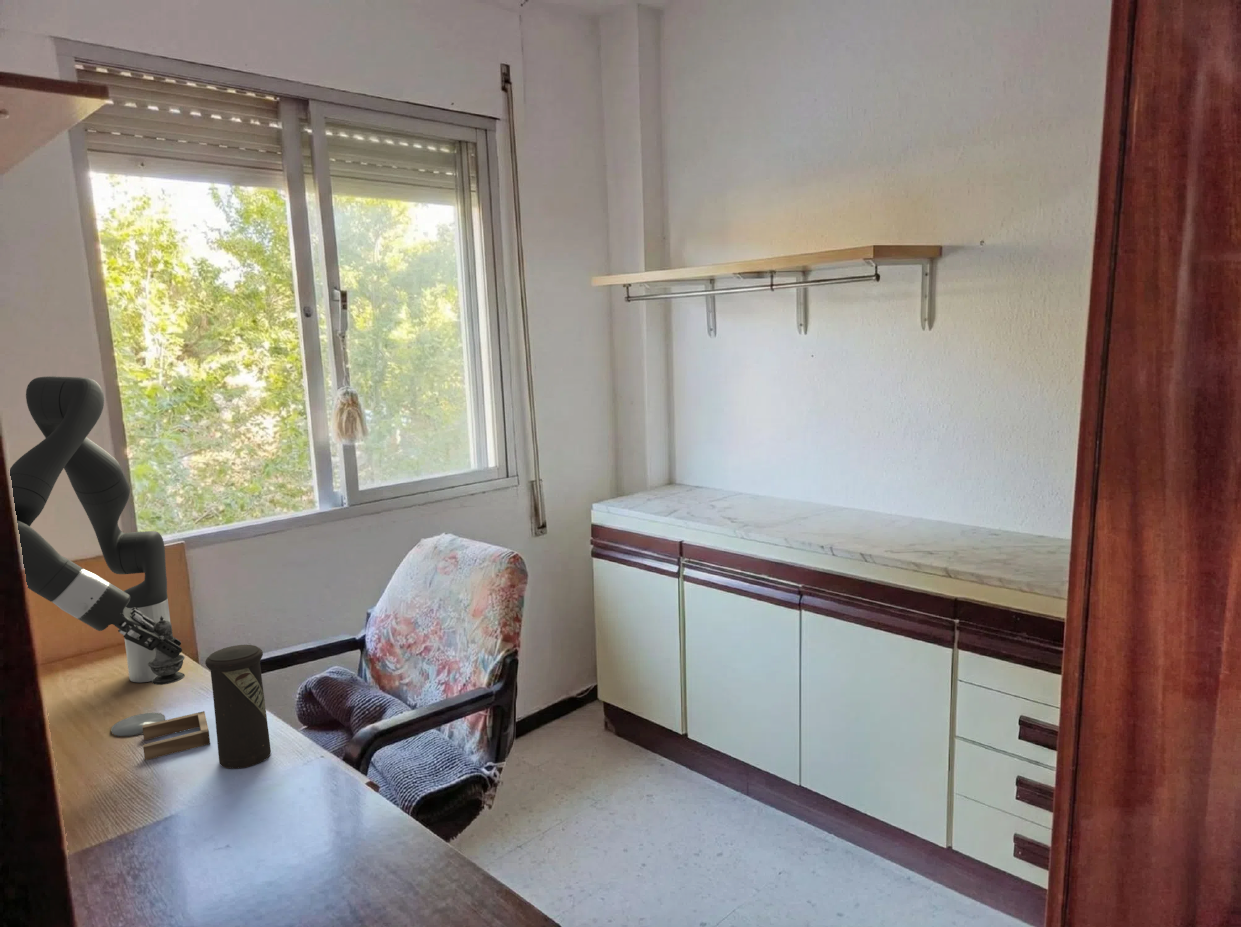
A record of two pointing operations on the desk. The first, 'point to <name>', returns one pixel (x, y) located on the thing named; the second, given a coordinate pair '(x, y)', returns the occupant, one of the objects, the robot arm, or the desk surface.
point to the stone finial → (166, 658)
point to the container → (239, 706)
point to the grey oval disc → (135, 724)
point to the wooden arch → (177, 742)
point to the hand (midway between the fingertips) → (177, 650)
